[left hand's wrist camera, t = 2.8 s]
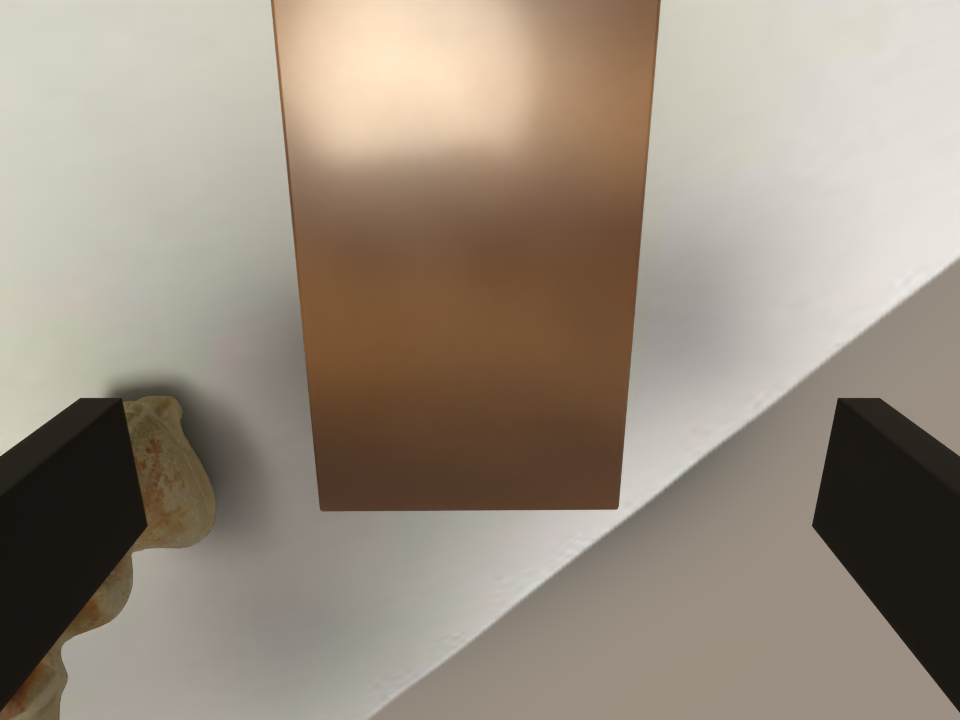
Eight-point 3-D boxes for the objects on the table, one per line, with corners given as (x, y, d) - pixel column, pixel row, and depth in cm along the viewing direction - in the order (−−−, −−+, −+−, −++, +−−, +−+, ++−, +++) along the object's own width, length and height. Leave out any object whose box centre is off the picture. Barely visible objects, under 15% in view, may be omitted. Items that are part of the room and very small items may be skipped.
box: (567, 370, 28) (618, 510, 18) (372, 371, 28) (319, 512, 18) (610, -493, 19) (756, -1128, 9) (320, -495, 19) (158, -1139, 9)
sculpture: (115, 529, 30) (-191, 890, 16) (68, 381, 28) (-341, 658, 14) (243, 519, 30) (45, 874, 16) (207, 370, 28) (-63, 638, 14)
